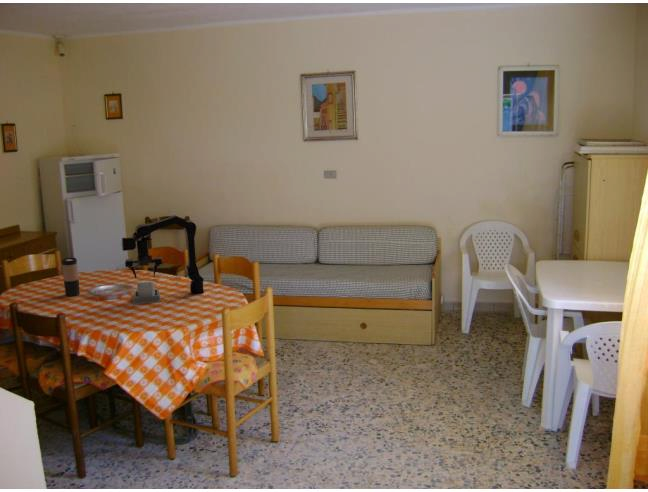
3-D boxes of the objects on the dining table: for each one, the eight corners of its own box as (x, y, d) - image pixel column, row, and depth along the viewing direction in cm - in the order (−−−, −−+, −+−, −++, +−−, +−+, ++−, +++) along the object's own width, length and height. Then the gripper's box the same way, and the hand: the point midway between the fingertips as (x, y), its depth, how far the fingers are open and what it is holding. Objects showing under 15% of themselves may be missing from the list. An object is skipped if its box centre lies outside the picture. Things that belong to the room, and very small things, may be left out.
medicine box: (155, 296, 355) (154, 280, 353) (152, 299, 351) (151, 283, 349) (141, 296, 356) (139, 280, 354) (138, 299, 351) (136, 283, 350)
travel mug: (62, 295, 362) (58, 260, 357) (73, 292, 368) (69, 257, 364) (72, 297, 358) (68, 261, 354) (83, 293, 365) (79, 258, 360)
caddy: (159, 293, 363) (159, 288, 362) (160, 301, 348) (160, 296, 347) (133, 295, 359) (132, 290, 359) (133, 304, 344) (132, 298, 344)
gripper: (124, 253, 337) (126, 283, 341) (161, 250, 342) (163, 280, 346) (124, 248, 348) (126, 277, 351) (160, 246, 353) (162, 274, 356)
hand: (145, 277), depth 351 cm, fingers open, 9 cm apart
